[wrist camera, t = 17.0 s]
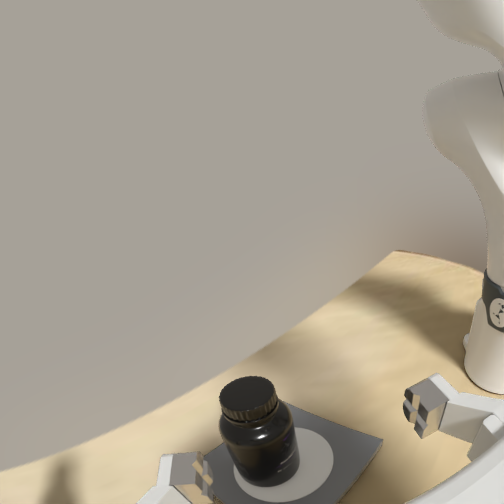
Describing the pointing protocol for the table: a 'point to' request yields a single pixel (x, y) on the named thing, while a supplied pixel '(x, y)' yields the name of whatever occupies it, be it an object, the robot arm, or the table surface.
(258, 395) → the supplement bottle
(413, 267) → the table surface
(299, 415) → the charging pad
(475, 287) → the table surface
